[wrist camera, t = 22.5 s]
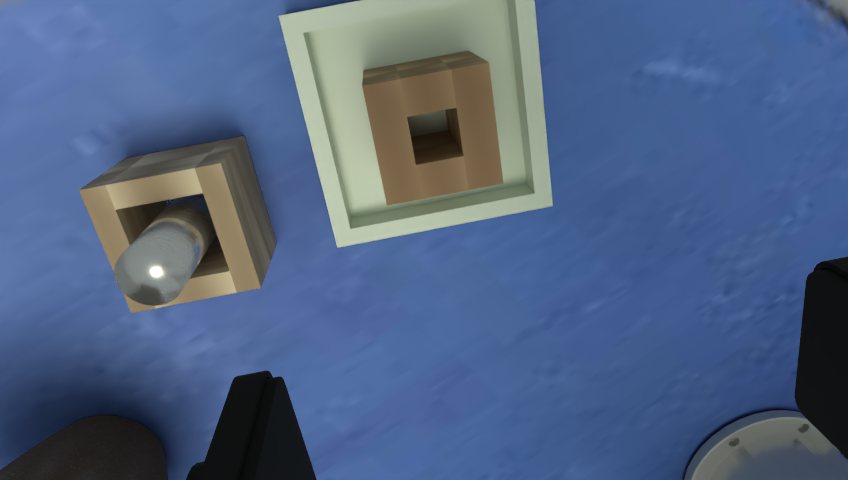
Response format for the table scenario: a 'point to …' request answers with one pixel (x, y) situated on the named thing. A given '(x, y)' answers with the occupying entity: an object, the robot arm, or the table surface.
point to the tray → (350, 127)
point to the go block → (178, 177)
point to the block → (441, 151)
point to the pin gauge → (166, 252)
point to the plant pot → (93, 453)
